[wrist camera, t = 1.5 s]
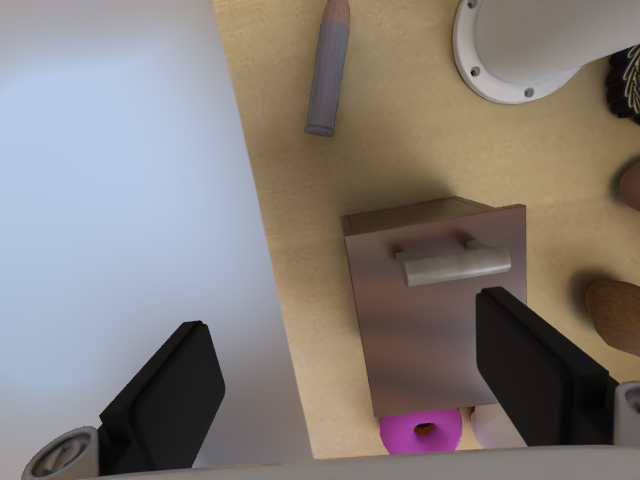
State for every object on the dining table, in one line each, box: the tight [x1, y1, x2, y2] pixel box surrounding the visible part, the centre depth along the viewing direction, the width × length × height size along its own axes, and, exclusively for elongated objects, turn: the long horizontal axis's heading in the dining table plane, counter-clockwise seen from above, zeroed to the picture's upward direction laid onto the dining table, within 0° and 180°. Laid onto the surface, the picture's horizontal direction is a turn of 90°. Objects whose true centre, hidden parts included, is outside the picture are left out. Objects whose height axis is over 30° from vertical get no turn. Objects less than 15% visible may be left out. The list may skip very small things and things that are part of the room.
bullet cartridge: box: [304, 0, 350, 137], centre depth 28 cm, size 11×3×3 cm
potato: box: [585, 281, 640, 357], centre depth 31 cm, size 7×12×7 cm, turn 59°
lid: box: [344, 204, 527, 418], centre depth 21 cm, size 16×13×5 cm
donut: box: [380, 408, 462, 454], centre depth 37 cm, size 10×10×5 cm
